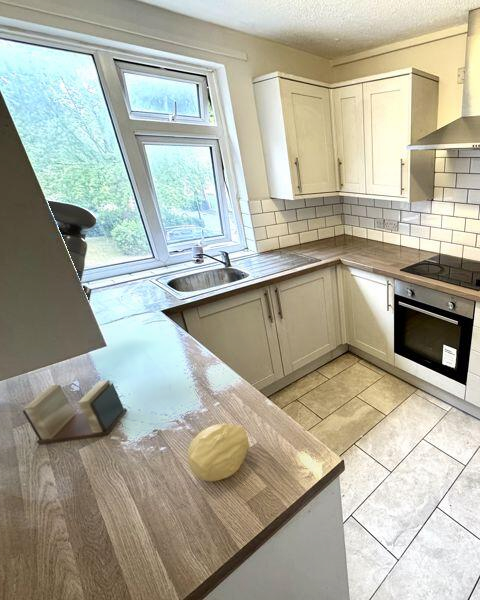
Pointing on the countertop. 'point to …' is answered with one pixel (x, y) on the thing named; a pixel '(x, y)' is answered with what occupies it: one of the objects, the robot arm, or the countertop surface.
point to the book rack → (65, 423)
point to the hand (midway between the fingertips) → (52, 323)
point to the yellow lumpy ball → (218, 451)
